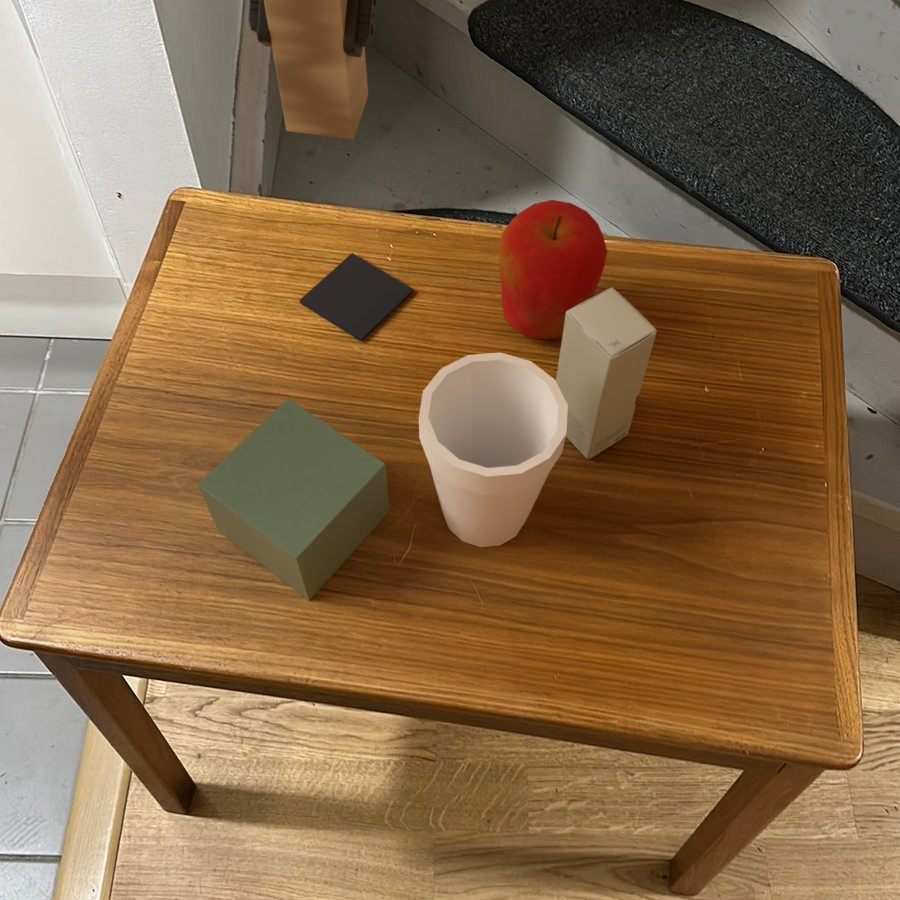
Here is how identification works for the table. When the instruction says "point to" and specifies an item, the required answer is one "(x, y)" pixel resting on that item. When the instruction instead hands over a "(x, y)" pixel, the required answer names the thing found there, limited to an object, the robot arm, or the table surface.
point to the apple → (548, 266)
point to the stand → (297, 497)
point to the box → (602, 369)
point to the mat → (356, 297)
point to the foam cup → (491, 442)
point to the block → (316, 67)
